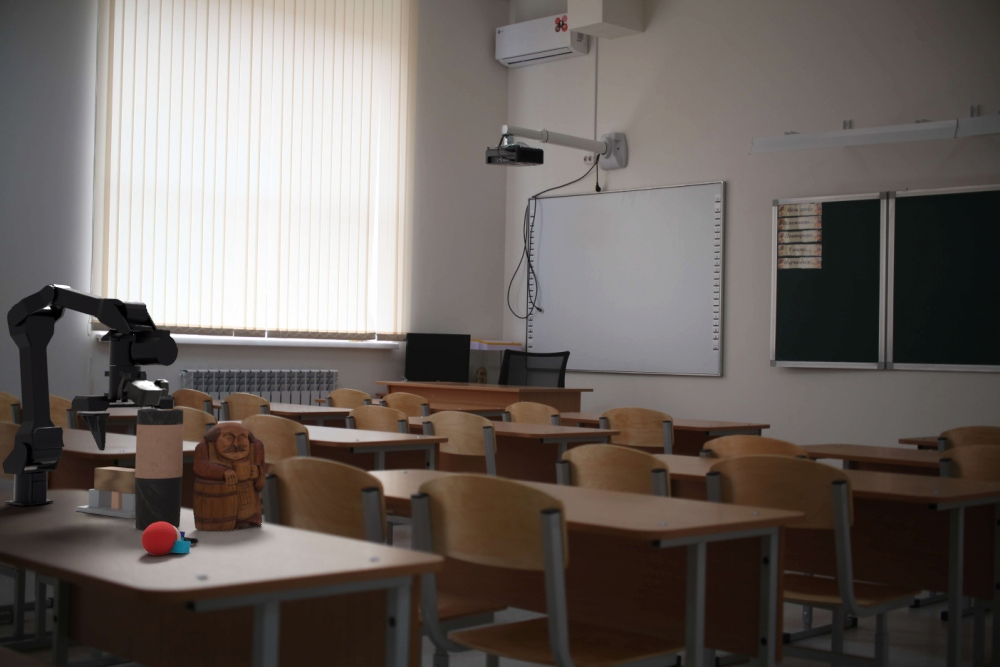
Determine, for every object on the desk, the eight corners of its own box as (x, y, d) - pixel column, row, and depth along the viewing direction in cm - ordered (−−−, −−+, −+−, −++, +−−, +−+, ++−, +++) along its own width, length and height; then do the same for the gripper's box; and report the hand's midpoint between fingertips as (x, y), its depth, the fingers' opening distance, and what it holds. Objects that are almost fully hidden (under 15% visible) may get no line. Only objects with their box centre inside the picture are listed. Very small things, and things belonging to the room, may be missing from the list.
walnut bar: (94, 489, 187) (94, 468, 187) (110, 487, 190) (110, 466, 190) (134, 494, 181) (135, 472, 181) (150, 492, 183) (151, 470, 184)
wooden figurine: (207, 533, 162) (210, 423, 163) (188, 529, 166) (191, 422, 167) (270, 526, 170) (272, 421, 171) (250, 522, 175) (252, 420, 176)
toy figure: (153, 553, 154) (123, 554, 139) (158, 521, 155) (129, 518, 140) (202, 557, 154) (177, 558, 140) (206, 525, 155) (183, 523, 141)
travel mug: (150, 532, 163) (153, 410, 163) (124, 527, 167) (127, 409, 168) (190, 527, 169) (193, 409, 170) (164, 522, 173) (166, 408, 174)
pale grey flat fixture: (76, 510, 186) (77, 489, 186) (117, 505, 194) (118, 485, 194) (130, 518, 177) (131, 496, 178) (171, 512, 185) (172, 491, 185)
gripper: (108, 365, 174) (106, 454, 173) (193, 366, 190) (192, 448, 189) (70, 365, 180) (68, 451, 179) (156, 366, 196) (154, 445, 195)
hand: (123, 448), depth 186 cm, fingers open, 9 cm apart
